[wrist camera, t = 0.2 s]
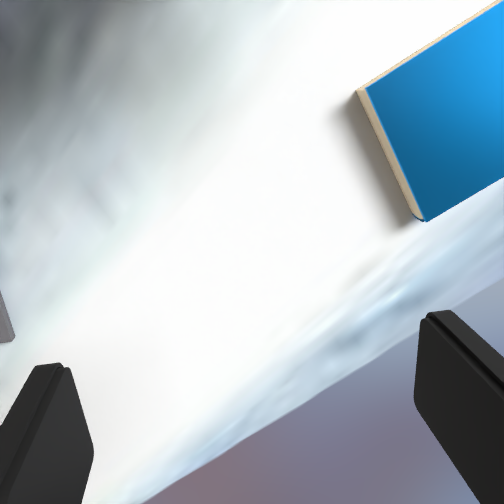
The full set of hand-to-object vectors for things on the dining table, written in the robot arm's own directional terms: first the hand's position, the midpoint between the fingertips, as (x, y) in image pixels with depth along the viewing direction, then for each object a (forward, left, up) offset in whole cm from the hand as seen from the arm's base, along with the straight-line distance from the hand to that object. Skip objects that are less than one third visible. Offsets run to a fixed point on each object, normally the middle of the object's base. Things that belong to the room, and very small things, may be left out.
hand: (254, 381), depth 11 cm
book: (-4, +31, -37) cm, 48 cm away
